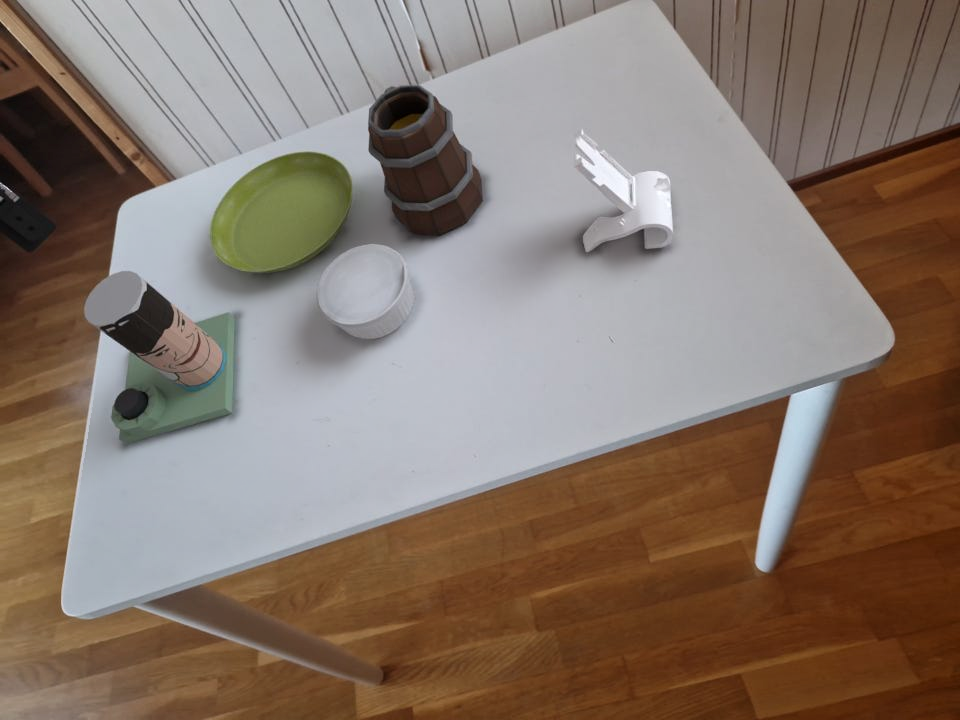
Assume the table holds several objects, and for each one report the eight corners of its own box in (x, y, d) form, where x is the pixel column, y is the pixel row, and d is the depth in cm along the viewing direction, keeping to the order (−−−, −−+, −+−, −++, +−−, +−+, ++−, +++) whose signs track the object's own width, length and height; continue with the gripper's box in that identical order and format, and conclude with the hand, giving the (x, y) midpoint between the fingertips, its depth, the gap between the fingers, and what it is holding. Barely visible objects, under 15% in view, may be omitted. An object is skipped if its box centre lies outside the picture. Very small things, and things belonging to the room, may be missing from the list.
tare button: (147, 414, 78) (136, 408, 77) (123, 422, 78) (112, 415, 77) (149, 391, 80) (139, 384, 78) (126, 398, 80) (115, 392, 79)
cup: (187, 401, 79) (93, 337, 66) (169, 365, 83) (77, 297, 70) (234, 367, 80) (150, 297, 67) (214, 332, 83) (131, 259, 71)
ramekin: (404, 354, 76) (387, 330, 72) (321, 341, 80) (300, 318, 76) (434, 274, 81) (420, 246, 76) (355, 266, 85) (337, 240, 80)
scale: (232, 413, 78) (217, 402, 76) (126, 444, 80) (108, 435, 78) (235, 317, 86) (221, 304, 83) (138, 348, 88) (121, 336, 85)
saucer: (254, 313, 85) (240, 299, 82) (204, 224, 96) (190, 209, 94) (387, 222, 87) (378, 205, 84) (323, 145, 98) (313, 128, 95)
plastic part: (673, 247, 74) (673, 173, 64) (582, 254, 76) (569, 183, 67) (670, 195, 77) (670, 117, 68) (584, 203, 80) (571, 129, 70)
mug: (497, 209, 83) (464, 114, 71) (410, 250, 84) (361, 163, 71) (457, 135, 92) (421, 38, 79) (377, 173, 92) (329, 83, 80)
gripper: (-282, 63, 47) (-58, 221, 62) (-208, 122, 39) (30, 288, 54) (-193, -3, 49) (4, 164, 64) (-105, 40, 41) (98, 221, 56)
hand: (16, 221), depth 59 cm, fingers open, 9 cm apart
